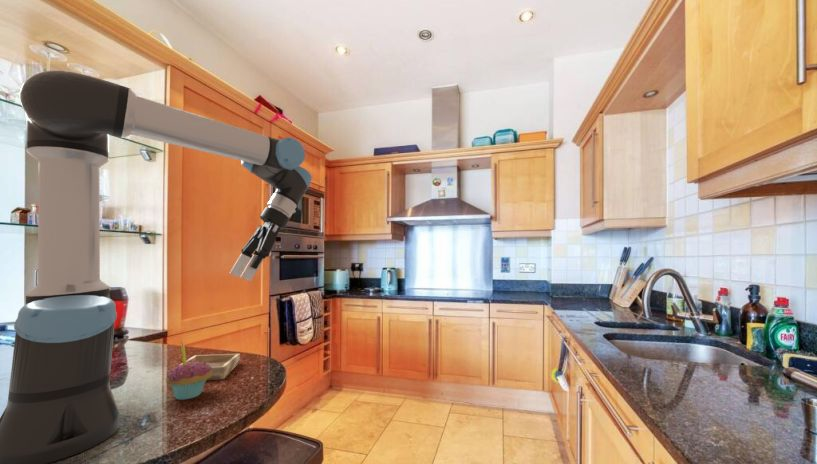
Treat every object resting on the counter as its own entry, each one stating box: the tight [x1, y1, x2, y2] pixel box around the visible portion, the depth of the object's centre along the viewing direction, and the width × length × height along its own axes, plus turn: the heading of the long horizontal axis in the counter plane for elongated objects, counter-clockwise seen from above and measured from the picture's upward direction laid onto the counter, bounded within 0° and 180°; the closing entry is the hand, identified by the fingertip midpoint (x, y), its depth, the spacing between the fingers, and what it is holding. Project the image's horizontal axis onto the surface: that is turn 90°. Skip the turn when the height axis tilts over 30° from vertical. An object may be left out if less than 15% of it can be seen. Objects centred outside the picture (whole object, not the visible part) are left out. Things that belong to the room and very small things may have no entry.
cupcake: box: [165, 342, 212, 400], centre depth 72 cm, size 9×8×12 cm
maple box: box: [179, 353, 241, 381], centre depth 86 cm, size 12×12×3 cm
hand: (239, 277), depth 89 cm, fingers open, 13 cm apart
